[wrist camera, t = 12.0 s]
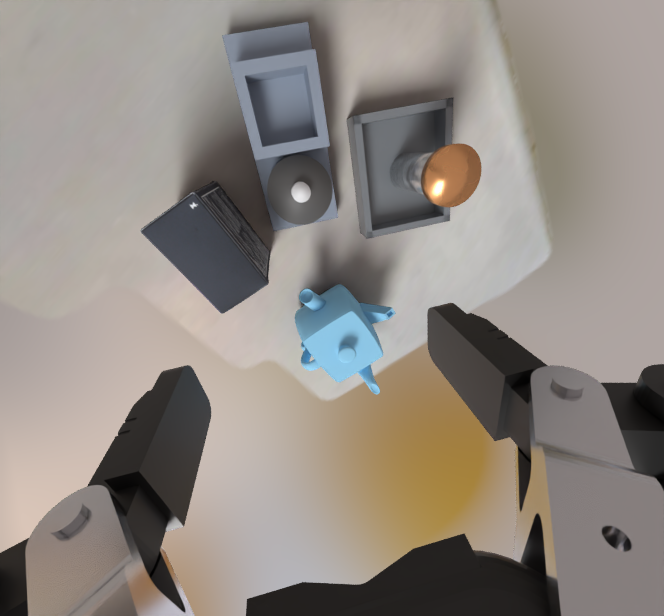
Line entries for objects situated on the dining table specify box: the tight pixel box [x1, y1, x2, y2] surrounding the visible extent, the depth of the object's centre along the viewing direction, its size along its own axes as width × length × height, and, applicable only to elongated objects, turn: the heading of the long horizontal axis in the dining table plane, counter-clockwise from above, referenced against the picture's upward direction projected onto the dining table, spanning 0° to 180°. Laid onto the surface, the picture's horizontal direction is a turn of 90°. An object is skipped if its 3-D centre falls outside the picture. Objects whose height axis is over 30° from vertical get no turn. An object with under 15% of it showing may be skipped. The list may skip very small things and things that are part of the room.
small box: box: [141, 181, 270, 313], centre depth 32 cm, size 11×6×10 cm, turn 32°
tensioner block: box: [222, 22, 338, 231], centre depth 30 cm, size 18×8×5 cm, turn 10°
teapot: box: [295, 284, 396, 394], centre depth 40 cm, size 18×14×10 cm
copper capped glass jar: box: [390, 144, 481, 207], centre depth 31 cm, size 5×5×11 cm
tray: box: [347, 98, 453, 239], centre depth 35 cm, size 13×11×3 cm
